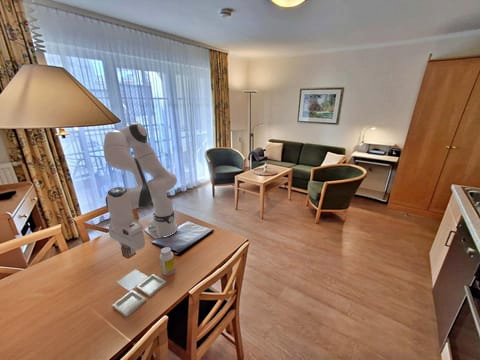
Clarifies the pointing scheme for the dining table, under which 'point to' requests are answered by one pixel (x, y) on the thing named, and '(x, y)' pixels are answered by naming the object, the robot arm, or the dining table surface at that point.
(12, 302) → the dining table surface
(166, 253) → the supplement bottle
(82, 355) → the dining table surface
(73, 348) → the dining table surface
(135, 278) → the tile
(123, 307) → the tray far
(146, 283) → the tray middle
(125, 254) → the letter cube
